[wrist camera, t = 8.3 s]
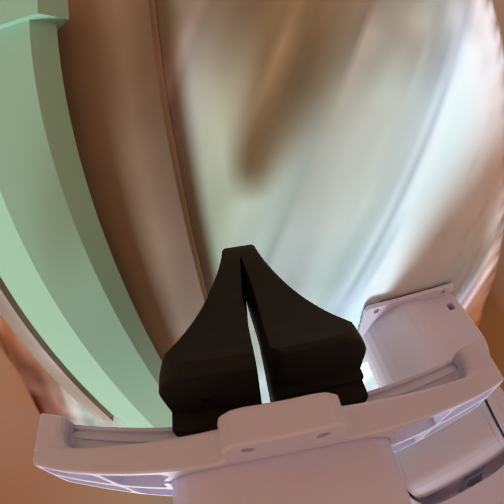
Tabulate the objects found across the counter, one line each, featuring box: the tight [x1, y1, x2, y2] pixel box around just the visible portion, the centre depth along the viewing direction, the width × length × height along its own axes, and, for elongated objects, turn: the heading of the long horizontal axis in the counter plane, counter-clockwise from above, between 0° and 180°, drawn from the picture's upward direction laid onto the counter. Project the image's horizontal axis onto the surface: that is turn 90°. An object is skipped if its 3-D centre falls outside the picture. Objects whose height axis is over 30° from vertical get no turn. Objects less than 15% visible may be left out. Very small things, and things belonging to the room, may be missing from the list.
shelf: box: [0, 0, 208, 421], centre depth 14 cm, size 12×28×4 cm, turn 5°
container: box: [0, 0, 172, 428], centre depth 12 cm, size 6×6×25 cm
